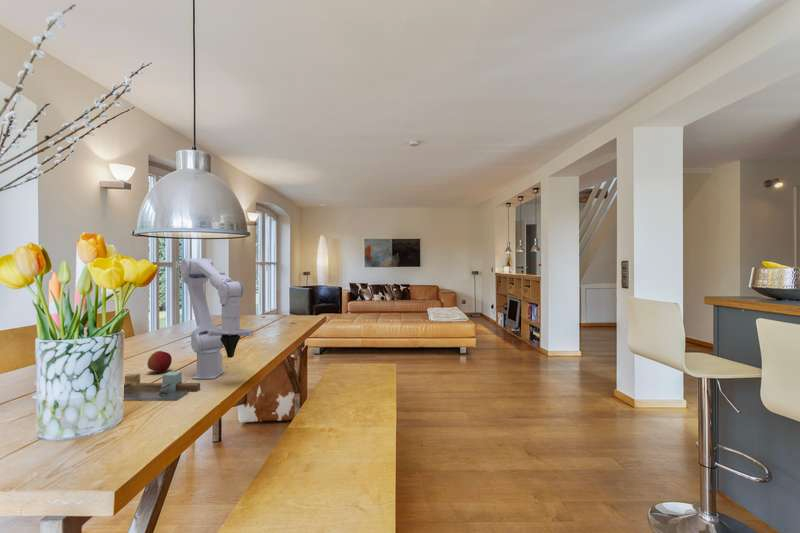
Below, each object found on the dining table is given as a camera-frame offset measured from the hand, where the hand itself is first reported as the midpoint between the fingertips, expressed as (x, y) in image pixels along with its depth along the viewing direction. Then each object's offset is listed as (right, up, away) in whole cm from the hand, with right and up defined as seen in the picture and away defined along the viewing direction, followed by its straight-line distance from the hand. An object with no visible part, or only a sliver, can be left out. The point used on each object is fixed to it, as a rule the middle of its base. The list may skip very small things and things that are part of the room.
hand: (230, 357), depth 137 cm
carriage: (-16, -9, -8) cm, 20 cm away
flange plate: (-21, -9, -12) cm, 26 cm away
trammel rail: (-20, -9, -9) cm, 24 cm away
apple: (-32, -9, +14) cm, 37 cm away
